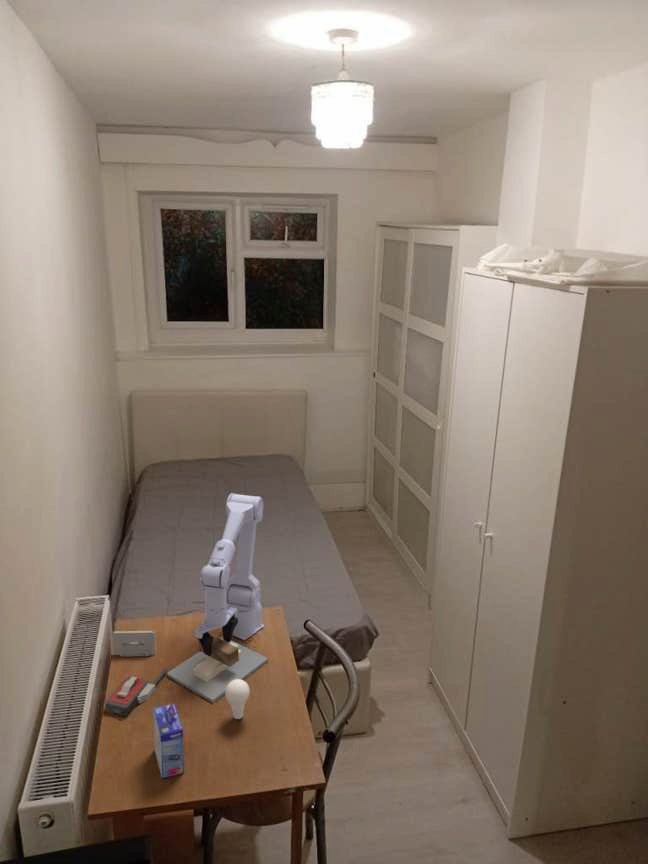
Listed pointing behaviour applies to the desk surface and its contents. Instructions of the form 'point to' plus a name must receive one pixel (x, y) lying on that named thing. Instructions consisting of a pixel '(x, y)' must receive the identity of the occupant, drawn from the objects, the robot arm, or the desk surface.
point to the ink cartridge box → (168, 740)
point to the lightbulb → (237, 696)
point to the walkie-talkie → (131, 694)
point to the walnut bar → (223, 652)
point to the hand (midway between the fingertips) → (217, 647)
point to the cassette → (134, 649)
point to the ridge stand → (215, 672)
